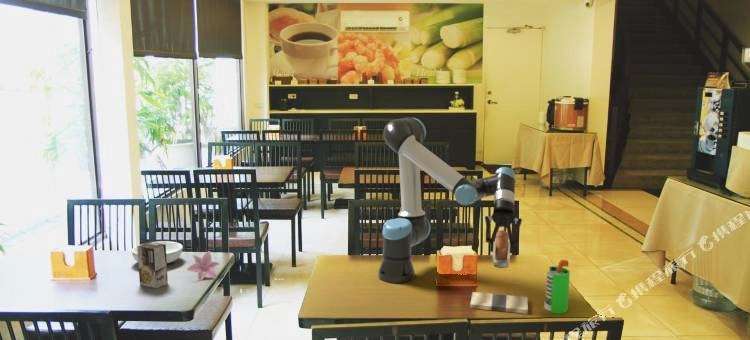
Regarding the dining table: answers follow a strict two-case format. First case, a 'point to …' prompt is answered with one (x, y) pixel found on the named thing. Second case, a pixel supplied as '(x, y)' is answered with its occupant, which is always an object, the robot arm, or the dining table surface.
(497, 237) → the brown rounded cylinder
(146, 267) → the coffee box
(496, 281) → the dining table surface
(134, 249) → the serving bowl
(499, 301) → the subfloor panel
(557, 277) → the green lighter
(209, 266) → the lily
